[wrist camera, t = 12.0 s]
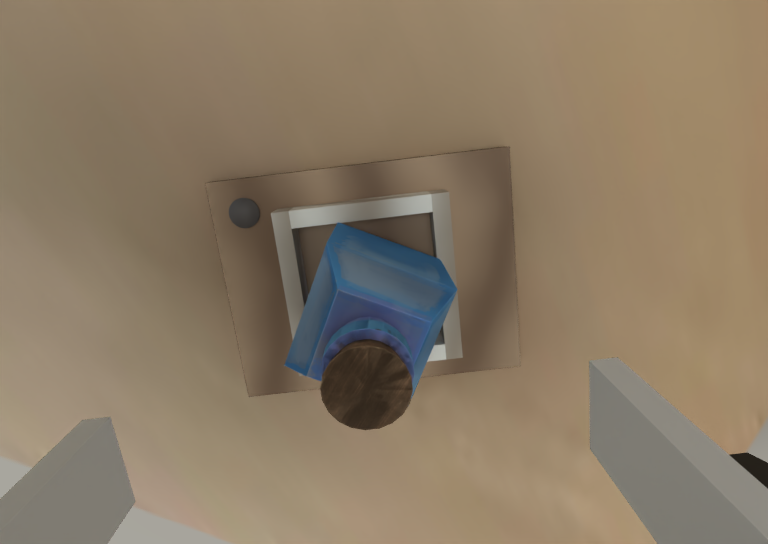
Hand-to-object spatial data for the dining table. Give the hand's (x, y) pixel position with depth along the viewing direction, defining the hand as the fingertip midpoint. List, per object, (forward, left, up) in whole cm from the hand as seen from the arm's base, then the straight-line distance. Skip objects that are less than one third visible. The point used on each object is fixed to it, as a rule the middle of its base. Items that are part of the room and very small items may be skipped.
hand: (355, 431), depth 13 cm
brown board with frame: (0, 0, -18) cm, 18 cm away
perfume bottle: (0, 0, -15) cm, 15 cm away
